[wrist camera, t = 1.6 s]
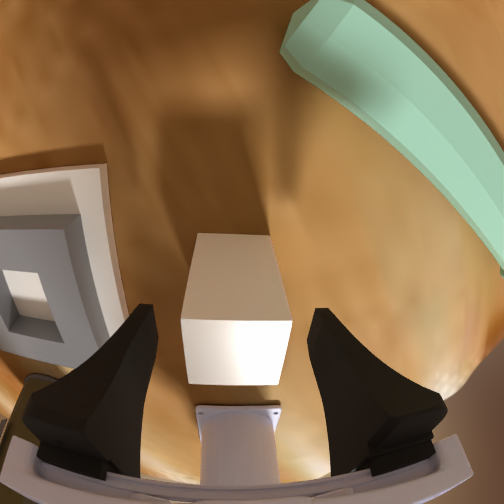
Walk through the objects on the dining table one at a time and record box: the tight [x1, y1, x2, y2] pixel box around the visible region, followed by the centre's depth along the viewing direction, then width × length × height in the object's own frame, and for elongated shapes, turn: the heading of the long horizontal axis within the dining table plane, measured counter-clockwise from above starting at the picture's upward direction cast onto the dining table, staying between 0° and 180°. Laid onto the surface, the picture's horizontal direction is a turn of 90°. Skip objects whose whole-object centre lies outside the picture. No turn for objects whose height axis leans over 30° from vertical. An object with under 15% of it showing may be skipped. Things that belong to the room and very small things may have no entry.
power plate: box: [0, 163, 129, 369], centre depth 16 cm, size 16×14×3 cm
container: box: [279, 0, 504, 278], centre depth 13 cm, size 6×6×25 cm
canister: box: [0, 374, 57, 504], centre depth 16 cm, size 11×10×20 cm
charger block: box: [181, 233, 292, 385], centre depth 14 cm, size 4×4×7 cm
